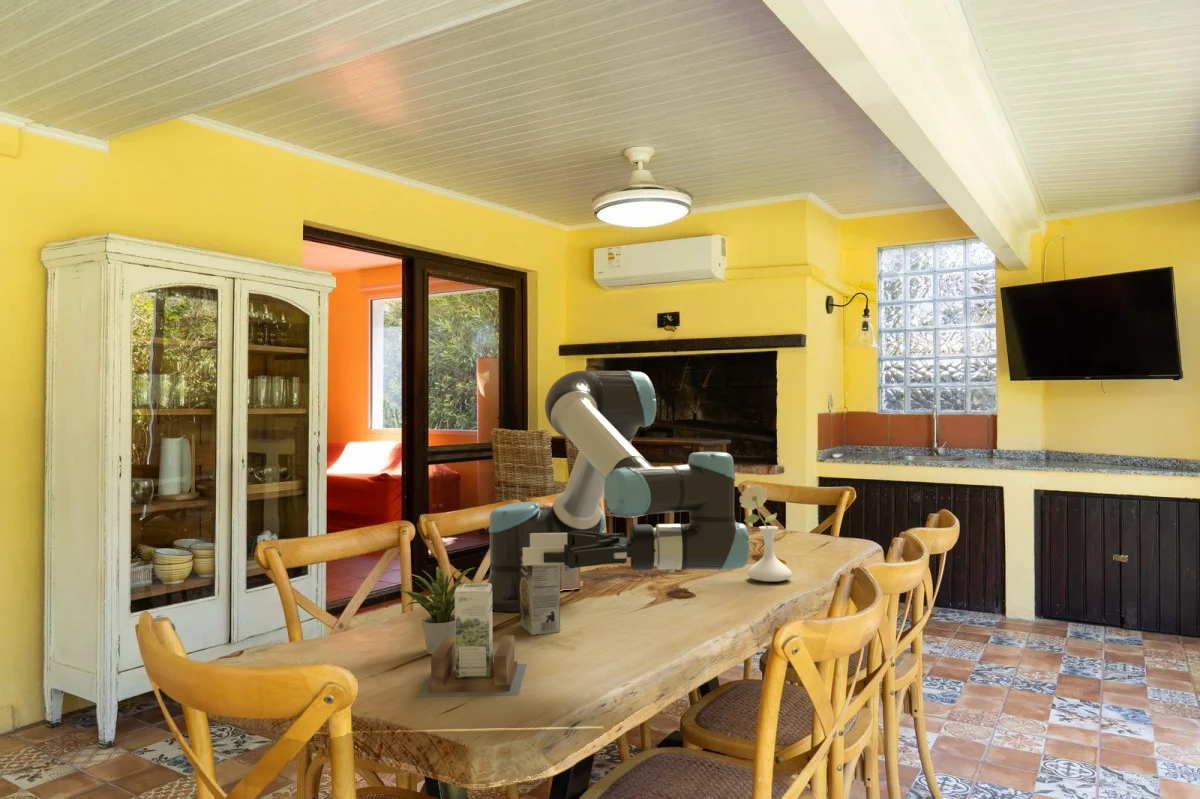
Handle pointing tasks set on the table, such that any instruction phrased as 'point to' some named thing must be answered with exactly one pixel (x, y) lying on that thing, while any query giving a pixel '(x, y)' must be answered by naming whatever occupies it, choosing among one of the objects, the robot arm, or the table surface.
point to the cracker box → (568, 572)
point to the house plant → (437, 608)
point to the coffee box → (539, 597)
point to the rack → (447, 681)
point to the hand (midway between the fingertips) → (526, 548)
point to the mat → (513, 691)
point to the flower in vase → (768, 564)
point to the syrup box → (473, 630)
